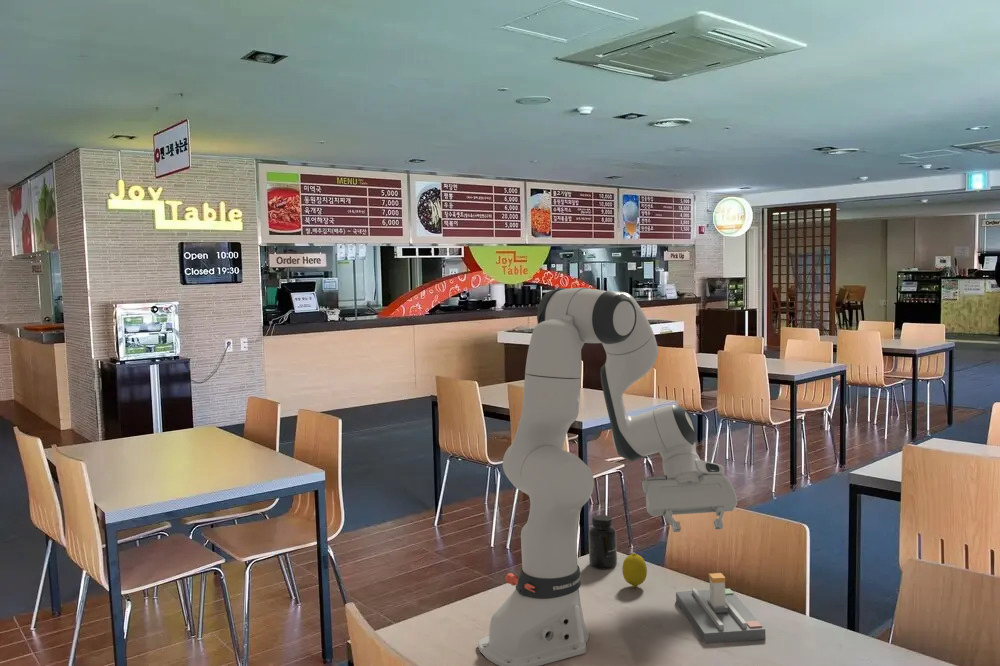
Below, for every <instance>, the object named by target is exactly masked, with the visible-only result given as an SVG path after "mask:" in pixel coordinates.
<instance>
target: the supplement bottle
mask: <svg viewBox="0 0 1000 666" xmlns="http://www.w3.org/2000/svg"><path fill="white" fill-rule="evenodd" d="M591 518H592V519H591V521H592V522H591V525H592V526H591V527H590V529H589V530H588V556H589V558H588V559H589V561H588V562H589V566H591V567H592V568H594V569H596V570H597V569H598V570H608V569H609V570H610V569H613V568H614V567H616V566H617V563H618V555H617V554H618V552H617V551H618V549H617V531H616V529H615V528H614V527H613V519H612V516H610V515H607V514H598V515H594V516H592V517H591Z"/></svg>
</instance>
